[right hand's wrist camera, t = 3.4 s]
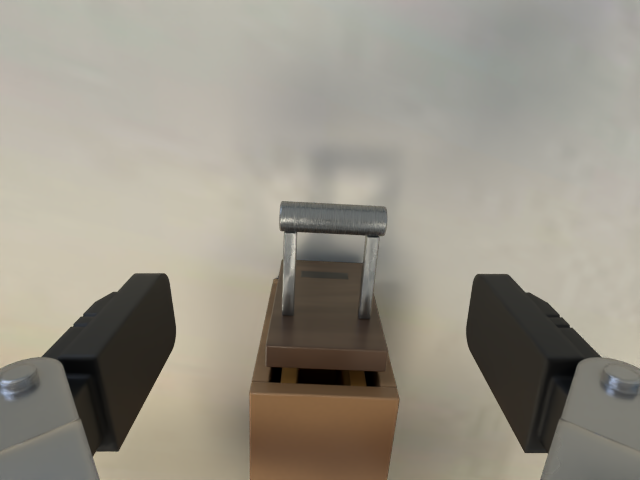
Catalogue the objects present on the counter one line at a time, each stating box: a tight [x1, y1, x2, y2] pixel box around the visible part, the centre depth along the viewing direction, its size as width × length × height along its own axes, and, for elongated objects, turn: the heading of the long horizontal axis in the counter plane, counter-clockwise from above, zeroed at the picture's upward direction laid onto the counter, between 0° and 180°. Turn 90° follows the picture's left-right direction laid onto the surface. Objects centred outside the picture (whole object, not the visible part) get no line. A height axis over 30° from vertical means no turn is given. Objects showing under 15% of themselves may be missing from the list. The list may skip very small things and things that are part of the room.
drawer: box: [265, 201, 388, 386], centre depth 26 cm, size 23×6×10 cm, turn 177°
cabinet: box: [249, 279, 400, 480], centre depth 28 cm, size 18×7×11 cm, turn 177°
